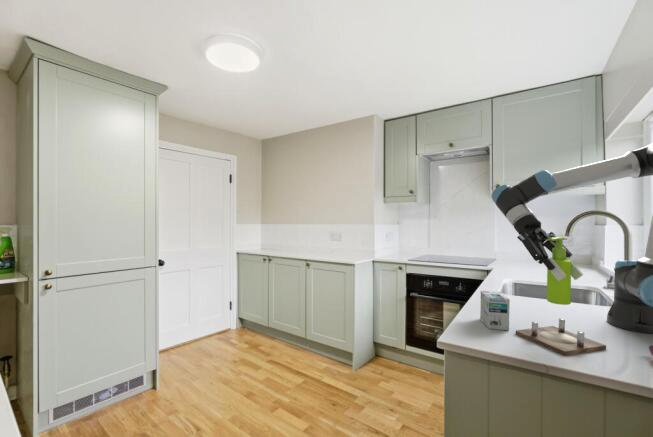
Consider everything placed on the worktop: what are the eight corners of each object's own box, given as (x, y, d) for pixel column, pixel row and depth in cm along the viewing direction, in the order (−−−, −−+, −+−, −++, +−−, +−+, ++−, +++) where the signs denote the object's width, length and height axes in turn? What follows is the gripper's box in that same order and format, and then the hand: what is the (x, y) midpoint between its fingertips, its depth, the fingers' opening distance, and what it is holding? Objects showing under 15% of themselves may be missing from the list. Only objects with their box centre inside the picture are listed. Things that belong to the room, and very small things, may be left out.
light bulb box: (509, 331, 105) (510, 299, 105) (488, 329, 107) (488, 297, 106) (499, 320, 116) (499, 291, 115) (479, 318, 117) (479, 290, 117)
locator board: (552, 329, 107) (553, 314, 107) (606, 349, 92) (606, 331, 91) (515, 334, 102) (515, 318, 102) (564, 355, 87) (565, 337, 87)
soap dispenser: (540, 300, 99) (540, 237, 98) (556, 298, 101) (556, 236, 100) (558, 306, 93) (559, 239, 92) (575, 303, 95) (576, 237, 94)
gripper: (537, 228, 114) (584, 283, 98) (495, 228, 109) (537, 286, 93) (552, 213, 109) (603, 269, 93) (508, 213, 103) (555, 272, 88)
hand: (570, 277), depth 93 cm, fingers closed on soap dispenser, 6 cm apart
